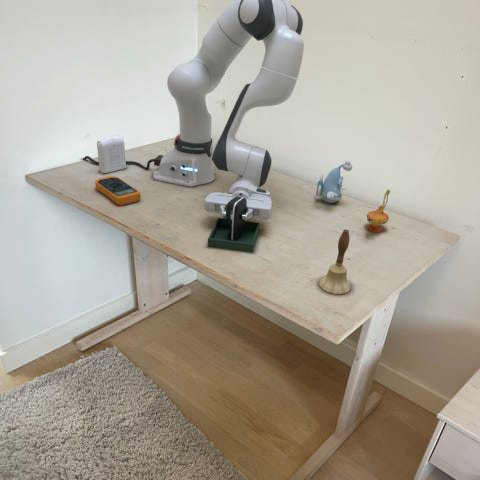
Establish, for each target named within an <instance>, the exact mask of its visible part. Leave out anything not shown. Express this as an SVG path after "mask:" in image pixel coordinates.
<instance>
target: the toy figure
mask: <svg viewBox="0 0 480 480" xmlns="http://www.w3.org/2000/svg"><path fill="white" fill-rule="evenodd" d="M341 169H343V170H344V171H346V172H351V171H352V170H353V164H351V161H350V160H345V162H344V163H342V164H339V166H337V167H335V168H333V169H332V170H330V172H328V174H327V175H326V177H325V179H324V174H323V173H321V175H320V176H319V177H320V178H319V180H318V181H317V184H316V185H317V186H316V192H315V195H316V196H317V198H320V197H321V199H322V200H323V201H324V202H326V203H328V204H334V203H336V202H337V201H340V200H341V199H342V196H343V194H342V190H343V191H344V190H345V191H346V190H347V189H346V188H342V187H343V181H344V176H341Z"/></svg>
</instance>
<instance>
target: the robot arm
mask: <svg viewBox="0 0 480 480" xmlns="http://www.w3.org/2000/svg"><path fill="white" fill-rule="evenodd" d="M303 28H304V21H303V17H302V15H301V13H300V11H299V10H298V9H297V7H295V6H294V5H292V4H290V3H288V1H286V0H232V1H231V2H230V3H229V4H228V5H227V6H226V7H225V8H224V10H223V11H222V12H221V13H220V15H219V16H218V17H217V18H216V20H215V22H214V23H213V24H212V26H211V27H210V28H209V29H208V31H207V32H206V34H205V35H204V37H203V38H202V42H201V46H200V48H199V50H198V51H197V52H198V53H196V55H195V56H194V57H193V58H192V59H191V60H189V61H187V62H183V63H181V64H179V65H177V66H176V67H175V68H174V69H173V70H172V71H171V72H169V74H168V76H167V82H166V85H167V89H168V92H169V94H170V96H171V97H173V99H174V101H175V104H176V107H177V112H178V119H179V121H178V122H179V134H177V135H176V136H175V139H174V141H173V146H174V147H173V148H172V149H170V150H169V151H168V152H167V153H165V154H163V155H162V154H159V155H157V156H156V157H155V158H151V159H149V160H148V161H147V163H146V167H145V165H143V164H141V163H140V162H138V161H131V160H126V165H129V164H130V165H136V166H138V167H139V168H141V169H143V170H146V171H147V170H150V166H151V165H150V164H151V163H153V166H155V167H156V166H157V168H156V169H155V170H154V171H153V174H152V176H153V180H156V181H160V182H164V183H170V184H174V185H180V186H185V187H191V188H193V187H195V186H197V185H204V184H205V185H206V184H209V183H211V182H213V181H214V180H215V178H216V177H215V173H214V167H216V169H217V170H219V171H223V172H228V173H232V174H235V175H236V177H235V178H234V180H233V181H232V184H231V186H230V188H229V191H228V193H225V192H219V191H212V192H211V193H209V194H207V196H206V197H205V199H204V202H203V205H204V206H203V207H204V210H205V211H206V212H207V213H208V212H209V213H215V214H220V215H221V218H226V207H227V203H228V202H229V201H230V200H232V199H233V198H235V197H241V198H245V199H246V200H247V207H246V213H243V214H242V220H243V221H248V220H249V219H251V218H255V219H263V220H269V219H271V217H272V207H273V202H272V198H271V192H270V191H268V190H266V189H262V188H261V187H262V186H264V185H265V184H266V182H267V180H268V177H269V174H270V171H271V166H272V156H271V153H270V152H269V150H268V149H266V148H263V147H261V146H257V145H253V144H250V143H247V142H243V141H241V140H238V139H237V138H236V135H237V133H238V131H239V129H240V126H241V124H242V122H243V120H244V118H245V116H246V114H247V113H248V112H250V110H252V109H255V108H261V107H273V106H278V105H281V104H283V103H285V102H286V101H288V100H289V99H290V98H291V96H292V94H293V92H294V89H295V87H296V85H297V81H298V78H299V75H300V71H301V68H302V61H303V56H304V49H305V43H304V39H303V37H302V36H301V34H302V31H303ZM252 38H253V39H255V40H256V41H258V42H260V41H262V42H263V45H264V47H265V48H264V49H265V51H264V56H263V59H262V61H261V66H260V68H259V72H258V74H257V76H256V77H255V79H254V80H253V81H252V82H250V83H246V84H245V85H244V86H243V88H242V90H241V91H240V93H239V95H238V97H237V99H236V101H235V103H234V106H233V107H232V110H231V113H230V115H229V117H228V119H227V121H226V124H225V125H224V128H223V130H222V132H221V135H220V137H219V138H218V139H217V141H216V143H215V144H214V147H213V138H212V114H211V113H210V112H209V110H208V106H207V101H206V98H207V97H206V96H207V95H208V94H210V93H213V92H214V90H216V88H217V87H218V86H219V85H220V84H221V81H222V80H223V78H224V76H225V74H226V72H227V71H228V69H229V67H230V65H231V64H232V63H233V62H234V60H235V59H236V58H237V57H238V56H239V54H240V53H241V52H242V51H243V49H244V48H245V46H246V45H247V44H248V43H249V41H250V40H251V39H252ZM84 157H85V158H84ZM84 157H83V158H82V161H86V160H89V161H90V162H92V163H93V164H96V165H99V161H96V160H95V159H94V158H92V157H91V156H89V155H86V156H84ZM213 165H214V167H213Z"/></svg>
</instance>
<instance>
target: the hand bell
mask: <svg viewBox="0 0 480 480" xmlns="http://www.w3.org/2000/svg"><path fill="white" fill-rule="evenodd" d="M349 245H350V230H349V229H343V231H342V233H341V235H340V237H339V238H338V242H337V251H338V253H337V257H336V261H335V263H333V264H331V265H330V266H329V268H328V271H327V273H326V275H325V276H323V277H322V278H321V279H320V280H319V281H318V284H319V288H320V289H322V290H323V291H324V292H326V293H329V294H333V295H344V294H347V293H349V292H350V291H351V289H352V285H351V283H350V281H348V277H347V275H348V274H347V273H348V272H347V271H348V269H347V267H346V266H344V265H343V263H344V258H345V254H346V252H347V250H348V248H349Z"/></svg>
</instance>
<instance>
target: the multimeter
mask: <svg viewBox="0 0 480 480" xmlns="http://www.w3.org/2000/svg"><path fill="white" fill-rule="evenodd" d="M94 184H95V189H96V190H98V191H99V192H100V193H102V194H103V195H105V196H106V197H108V198H109V199H111V200H112V201H113V202H114V203H115V204H116V205H118V206H126V205H130V204H133V203H136V202H139V201H140V200H141V196H142V195H141V191H139V190H137V189H136V188H134V187H133V186H132V185H130V184H129V183H127V182H125V181H124V180H123V179H122V178H120V177H118V176H116V175H115V176H113V175H108V176H105V177H100V178H97V179H96V180H94Z"/></svg>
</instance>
